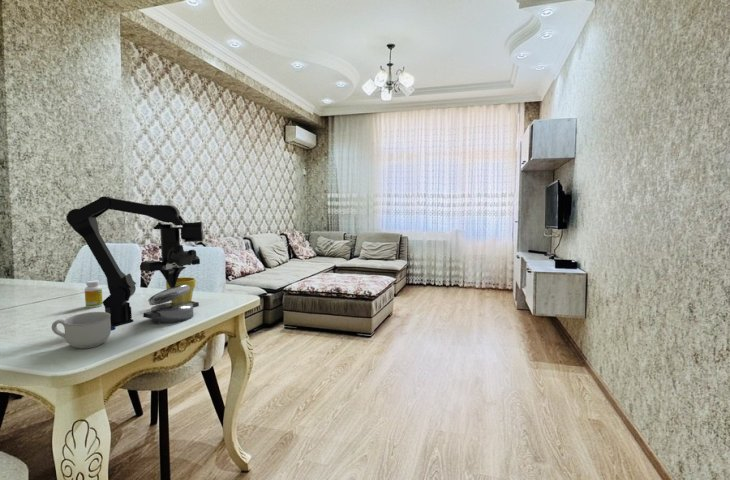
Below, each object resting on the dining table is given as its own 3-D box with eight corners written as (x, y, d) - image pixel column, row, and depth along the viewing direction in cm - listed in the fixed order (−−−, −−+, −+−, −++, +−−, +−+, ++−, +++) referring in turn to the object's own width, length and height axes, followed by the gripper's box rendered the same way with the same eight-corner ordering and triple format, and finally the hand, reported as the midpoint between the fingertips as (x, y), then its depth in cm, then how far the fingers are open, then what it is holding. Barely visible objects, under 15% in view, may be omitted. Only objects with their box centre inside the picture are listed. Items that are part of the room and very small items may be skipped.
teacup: (120, 338, 115) (118, 311, 114) (96, 351, 104) (94, 322, 104) (71, 338, 115) (69, 311, 114) (42, 352, 104) (40, 323, 103)
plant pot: (201, 301, 159) (200, 277, 158) (187, 307, 148) (186, 282, 147) (177, 300, 160) (175, 276, 159) (161, 307, 149) (160, 281, 148)
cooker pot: (160, 327, 124) (160, 315, 124) (135, 322, 130) (135, 310, 130) (207, 314, 140) (206, 302, 139) (183, 309, 146) (182, 298, 146)
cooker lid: (162, 292, 126) (159, 285, 126) (142, 308, 132) (139, 301, 132) (197, 285, 138) (194, 278, 138) (177, 299, 144) (174, 293, 144)
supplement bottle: (100, 307, 150) (99, 282, 149) (84, 308, 148) (82, 283, 147) (104, 303, 155) (102, 279, 154) (88, 305, 153) (86, 280, 152)
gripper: (159, 246, 120) (162, 296, 122) (209, 241, 137) (211, 285, 138) (137, 244, 126) (140, 292, 127) (188, 239, 142) (190, 282, 143)
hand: (172, 288), depth 134 cm, fingers closed
